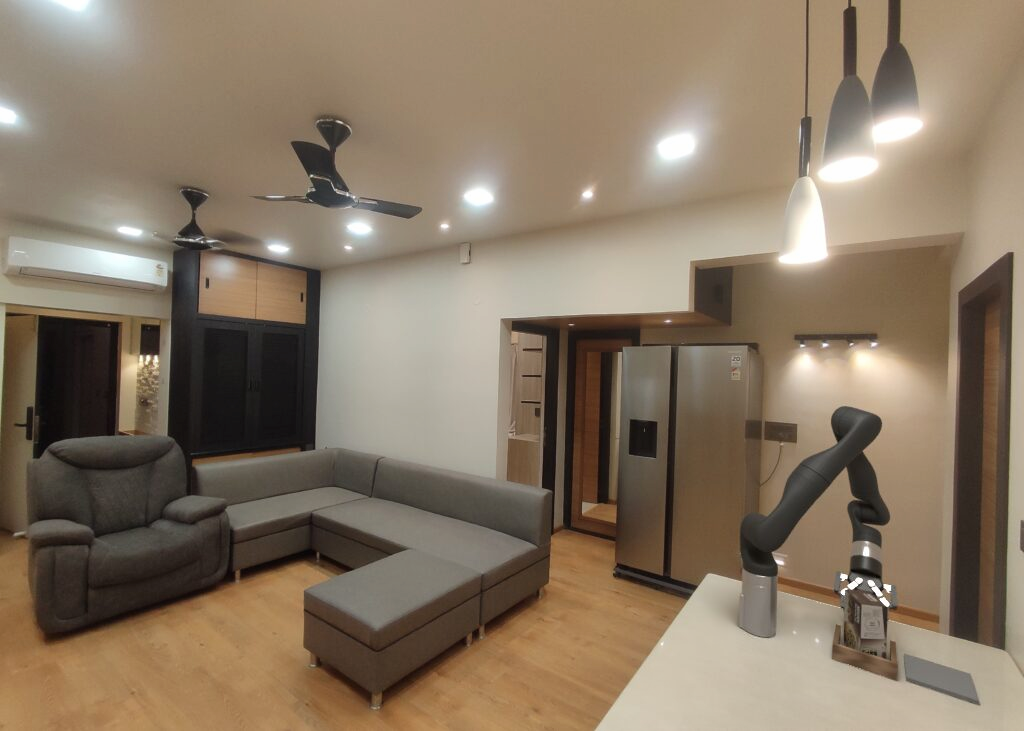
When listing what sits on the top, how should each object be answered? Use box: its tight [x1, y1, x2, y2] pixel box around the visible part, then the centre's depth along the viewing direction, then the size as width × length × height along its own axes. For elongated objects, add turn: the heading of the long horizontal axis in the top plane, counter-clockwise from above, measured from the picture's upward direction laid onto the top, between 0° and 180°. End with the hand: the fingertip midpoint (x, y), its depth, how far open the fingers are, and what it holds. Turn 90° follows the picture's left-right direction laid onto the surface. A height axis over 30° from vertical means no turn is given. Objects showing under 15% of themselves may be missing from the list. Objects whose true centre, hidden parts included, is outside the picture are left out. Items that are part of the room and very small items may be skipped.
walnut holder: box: [831, 623, 898, 682], centre depth 126 cm, size 13×13×4 cm
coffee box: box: [842, 588, 888, 659], centre depth 127 cm, size 9×6×16 cm
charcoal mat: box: [903, 653, 980, 706], centre depth 118 cm, size 13×13×1 cm
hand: (863, 615), depth 129 cm, fingers open, 8 cm apart
